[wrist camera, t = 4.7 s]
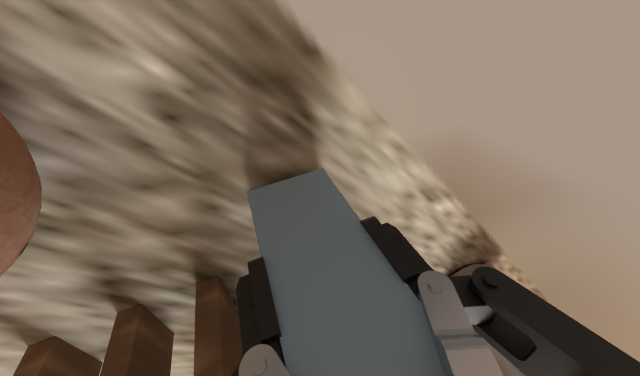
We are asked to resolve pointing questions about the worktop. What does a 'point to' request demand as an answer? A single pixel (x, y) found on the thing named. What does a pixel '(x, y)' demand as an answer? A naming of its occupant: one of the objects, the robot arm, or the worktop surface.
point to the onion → (16, 195)
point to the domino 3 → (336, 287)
